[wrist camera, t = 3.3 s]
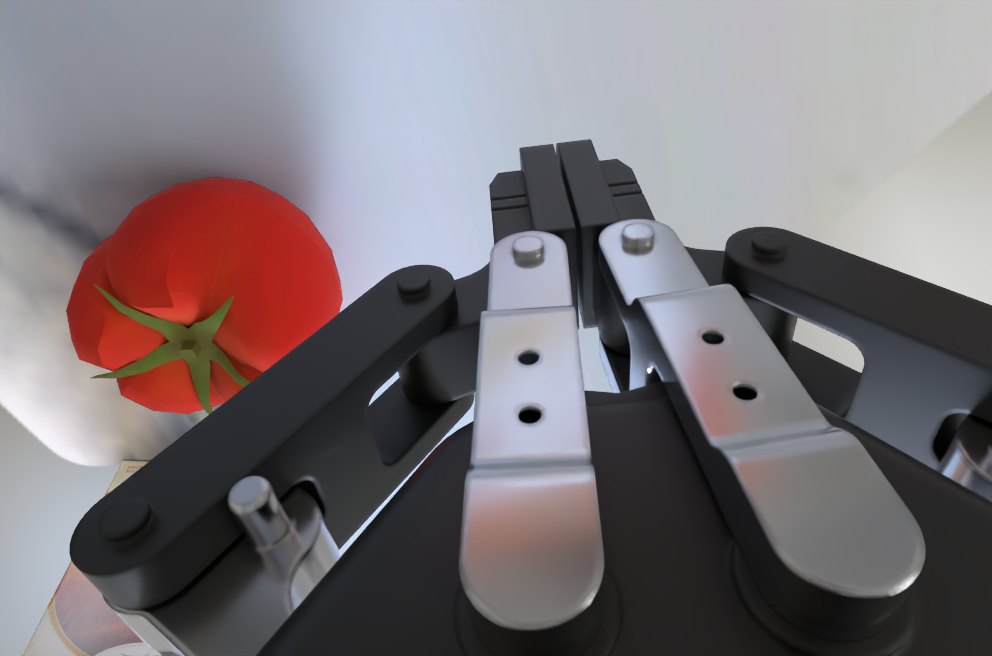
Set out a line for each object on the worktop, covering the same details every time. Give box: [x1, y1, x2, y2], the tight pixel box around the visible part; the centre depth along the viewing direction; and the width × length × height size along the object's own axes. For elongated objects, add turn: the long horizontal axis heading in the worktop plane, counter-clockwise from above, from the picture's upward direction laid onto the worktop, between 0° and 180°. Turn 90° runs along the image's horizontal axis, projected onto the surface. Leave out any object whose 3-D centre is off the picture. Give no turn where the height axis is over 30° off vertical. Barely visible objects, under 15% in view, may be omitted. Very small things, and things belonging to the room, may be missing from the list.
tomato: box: [66, 177, 343, 415], centre depth 37 cm, size 13×14×12 cm
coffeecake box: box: [22, 460, 161, 656], centre depth 49 cm, size 15×7×20 cm, turn 82°
